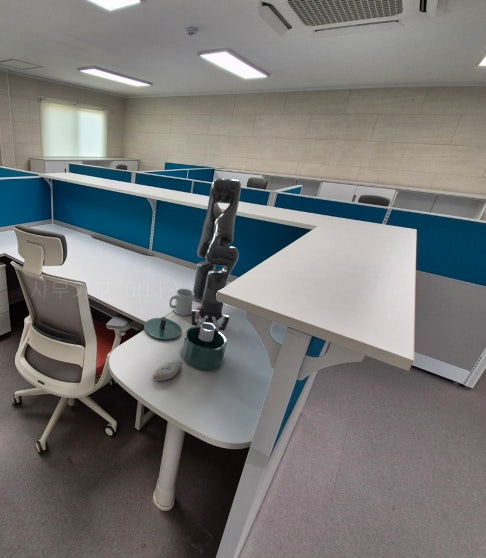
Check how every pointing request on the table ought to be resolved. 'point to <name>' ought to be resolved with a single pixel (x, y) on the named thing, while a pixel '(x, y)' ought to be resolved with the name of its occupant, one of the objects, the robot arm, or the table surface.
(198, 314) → the video game controller
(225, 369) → the table surface
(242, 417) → the table surface
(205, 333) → the steel cup
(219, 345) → the pot
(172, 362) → the decorative stone
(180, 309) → the mug
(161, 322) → the lid
